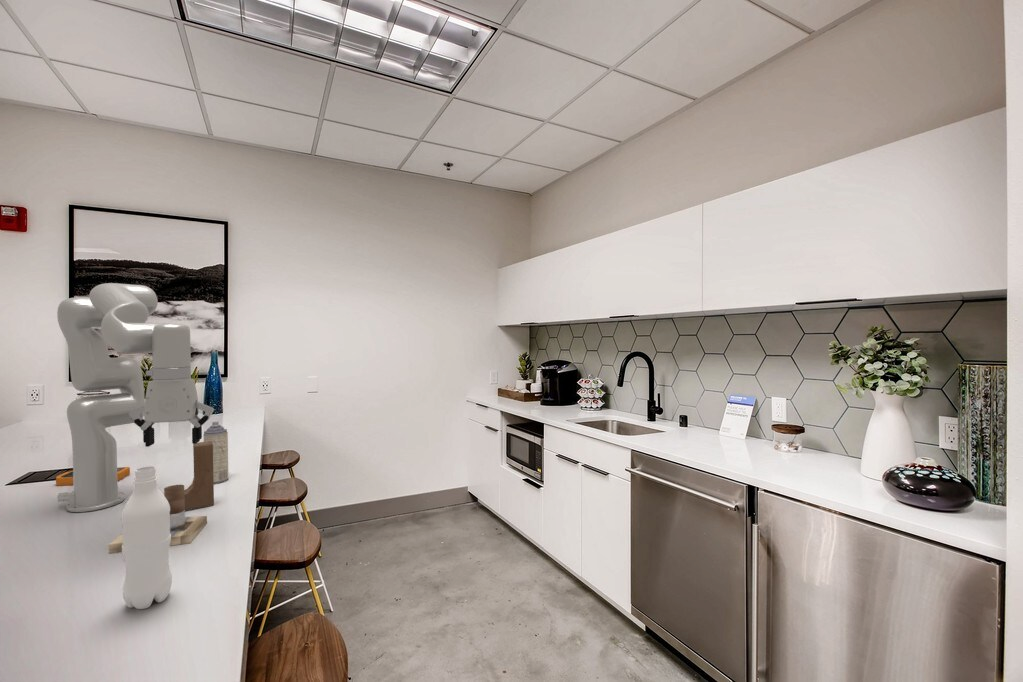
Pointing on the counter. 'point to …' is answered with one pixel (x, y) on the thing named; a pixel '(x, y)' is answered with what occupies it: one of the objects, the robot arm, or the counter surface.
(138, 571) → the water bottle
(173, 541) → the board
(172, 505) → the two-tone cylinder
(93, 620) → the counter surface
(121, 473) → the multimeter
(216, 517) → the counter surface
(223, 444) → the aerosol can
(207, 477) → the wooden block
